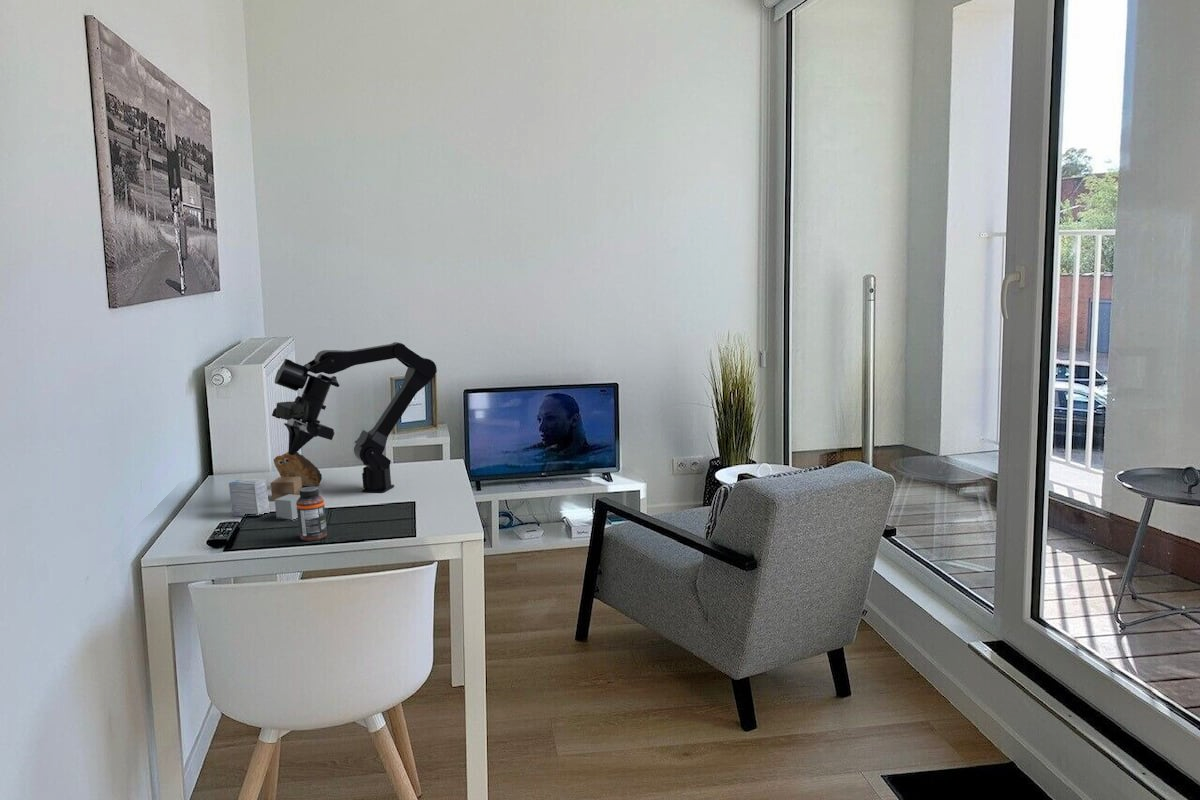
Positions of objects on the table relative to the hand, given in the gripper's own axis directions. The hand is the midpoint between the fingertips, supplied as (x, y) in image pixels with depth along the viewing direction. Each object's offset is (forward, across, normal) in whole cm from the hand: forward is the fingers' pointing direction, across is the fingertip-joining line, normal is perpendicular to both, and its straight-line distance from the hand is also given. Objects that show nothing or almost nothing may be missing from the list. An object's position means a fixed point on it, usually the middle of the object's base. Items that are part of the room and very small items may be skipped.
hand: (290, 454), depth 249 cm
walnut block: (+12, -4, +8) cm, 14 cm away
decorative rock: (+10, -12, +17) cm, 23 cm away
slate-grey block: (+13, +14, -4) cm, 19 cm away
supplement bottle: (+12, +33, -13) cm, 37 cm away
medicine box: (+17, +2, -6) cm, 18 cm away
